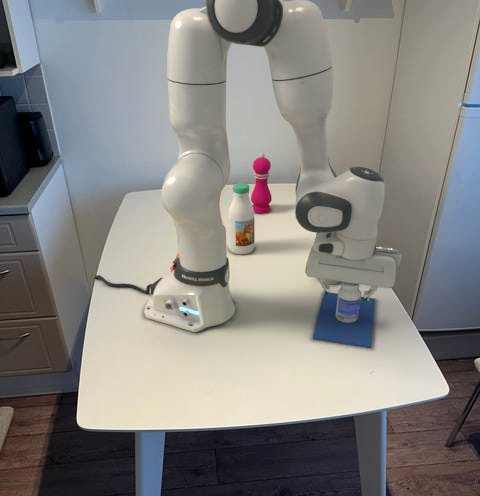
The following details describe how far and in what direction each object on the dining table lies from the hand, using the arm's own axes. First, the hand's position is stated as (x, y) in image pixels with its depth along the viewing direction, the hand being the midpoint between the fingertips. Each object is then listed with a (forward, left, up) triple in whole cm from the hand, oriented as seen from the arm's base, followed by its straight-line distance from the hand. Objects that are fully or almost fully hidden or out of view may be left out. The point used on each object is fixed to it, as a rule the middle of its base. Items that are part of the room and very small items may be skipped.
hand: (345, 296), depth 115 cm
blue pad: (+1, 0, -7) cm, 7 cm away
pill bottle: (+1, 0, -6) cm, 6 cm away
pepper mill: (-34, +59, -7) cm, 69 cm away
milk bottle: (-33, +29, -7) cm, 45 cm away
